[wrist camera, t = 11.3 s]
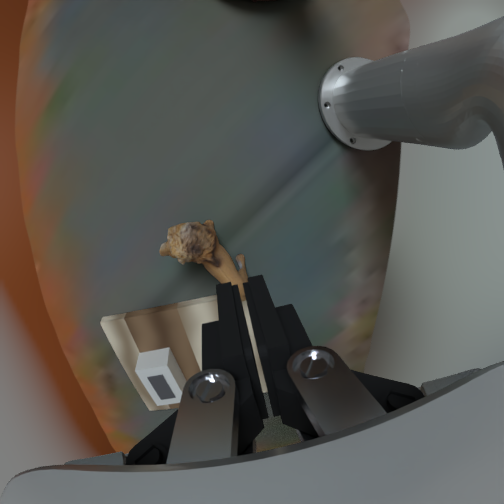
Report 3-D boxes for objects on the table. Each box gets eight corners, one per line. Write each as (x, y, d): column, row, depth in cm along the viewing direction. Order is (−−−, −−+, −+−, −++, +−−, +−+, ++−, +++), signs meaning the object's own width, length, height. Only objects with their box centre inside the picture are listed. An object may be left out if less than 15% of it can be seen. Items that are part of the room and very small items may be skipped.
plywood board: (248, 287, 41) (250, 292, 40) (270, 384, 49) (271, 390, 48) (102, 317, 40) (100, 322, 39) (150, 404, 48) (149, 410, 46)
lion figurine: (161, 229, 37) (148, 256, 29) (189, 198, 36) (183, 217, 28) (244, 298, 42) (253, 337, 34) (272, 271, 41) (288, 306, 33)
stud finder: (169, 347, 42) (167, 366, 38) (187, 383, 45) (187, 402, 41) (139, 353, 41) (134, 371, 38) (159, 388, 44) (157, 406, 41)
